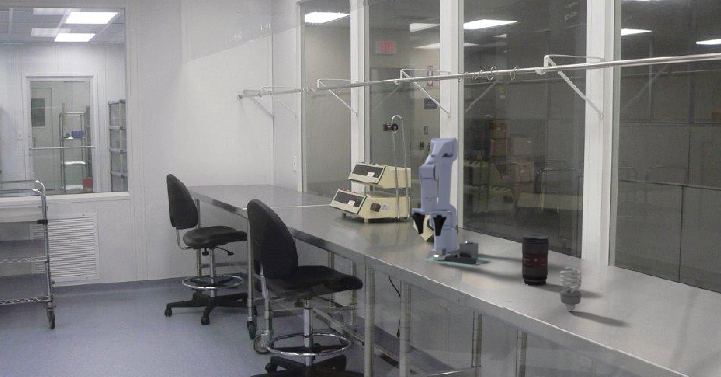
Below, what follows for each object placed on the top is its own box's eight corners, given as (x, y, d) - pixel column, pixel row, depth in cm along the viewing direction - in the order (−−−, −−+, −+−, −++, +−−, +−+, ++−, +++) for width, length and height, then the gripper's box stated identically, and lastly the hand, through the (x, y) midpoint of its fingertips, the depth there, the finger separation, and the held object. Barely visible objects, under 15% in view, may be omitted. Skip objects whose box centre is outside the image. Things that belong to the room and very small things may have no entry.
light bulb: (556, 308, 204) (556, 265, 203) (576, 308, 204) (577, 264, 203) (563, 314, 198) (564, 269, 197) (584, 313, 199) (585, 268, 197)
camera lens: (548, 287, 229) (549, 238, 228) (521, 286, 231) (522, 238, 230) (547, 281, 237) (548, 234, 236) (521, 280, 239) (521, 233, 238)
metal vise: (478, 262, 267) (478, 251, 267) (469, 265, 263) (469, 253, 262) (439, 257, 278) (439, 246, 278) (429, 259, 274) (429, 248, 273)
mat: (446, 254, 285) (446, 253, 285) (492, 260, 272) (492, 259, 272) (422, 260, 274) (422, 259, 274) (469, 267, 261) (469, 266, 261)
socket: (466, 257, 277) (466, 239, 276) (478, 259, 274) (478, 241, 273) (459, 259, 273) (459, 241, 272) (471, 261, 270) (471, 243, 269)
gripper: (406, 197, 272) (406, 234, 273) (438, 199, 262) (439, 238, 264) (418, 195, 277) (418, 231, 279) (450, 198, 268) (450, 235, 269)
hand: (429, 234), depth 271 cm, fingers open, 7 cm apart
